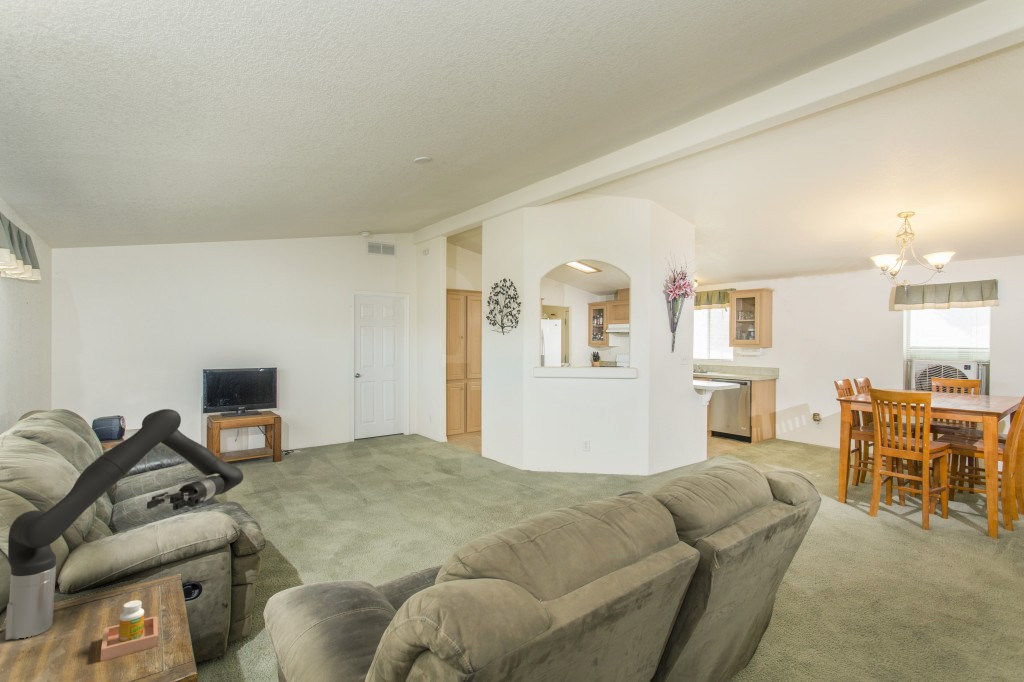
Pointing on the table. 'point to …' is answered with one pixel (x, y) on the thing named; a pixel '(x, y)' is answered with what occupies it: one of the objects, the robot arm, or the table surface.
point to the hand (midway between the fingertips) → (161, 506)
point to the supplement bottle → (131, 621)
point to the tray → (116, 649)
